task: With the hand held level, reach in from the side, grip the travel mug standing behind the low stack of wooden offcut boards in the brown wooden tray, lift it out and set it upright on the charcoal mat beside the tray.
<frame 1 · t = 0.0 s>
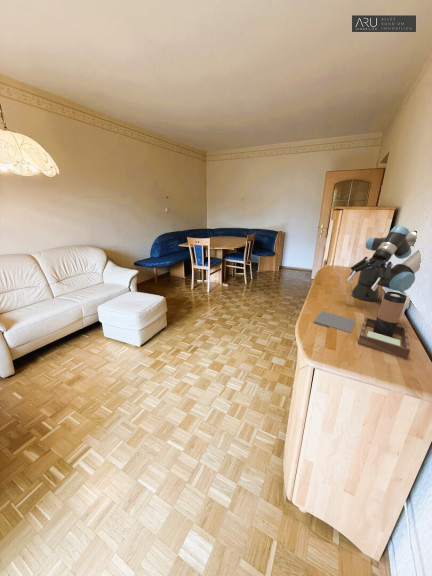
hand: (360, 285, 121), 15 cm above the table, tool tilted 35°, fingers open, 13 cm apart
brown wooden tray: (381, 340, 98), on the table
middle offcut: (381, 345, 93), point 1 cm above the table, touching bottom offcut
top offcut: (382, 341, 93), point 2 cm above the table
bottom offcut: (380, 347, 94), on the table, touching middle offcut
cup: (388, 321, 116), on the table
travel mug: (381, 336, 101), on the table
charcoal mat: (334, 322, 112), on the table
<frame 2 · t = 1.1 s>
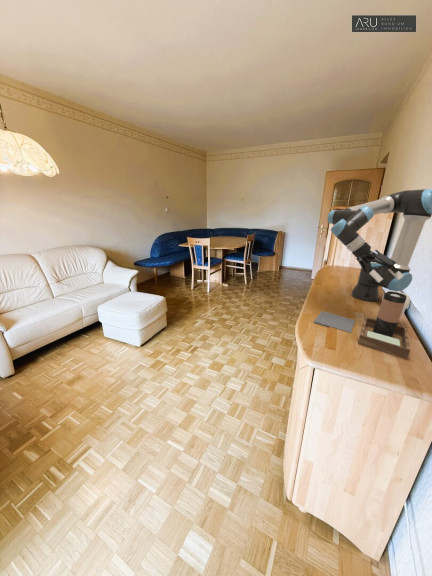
hand: (390, 279, 107), 22 cm above the table, tool tilted 50°, fingers open, 13 cm apart
nothing on the table moved.
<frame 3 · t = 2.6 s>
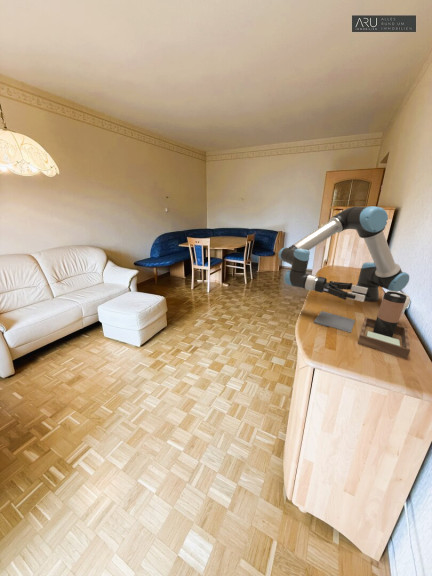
hand: (365, 294, 101), 17 cm above the table, tool horizontal, fingers open, 13 cm apart
nothing on the table moved.
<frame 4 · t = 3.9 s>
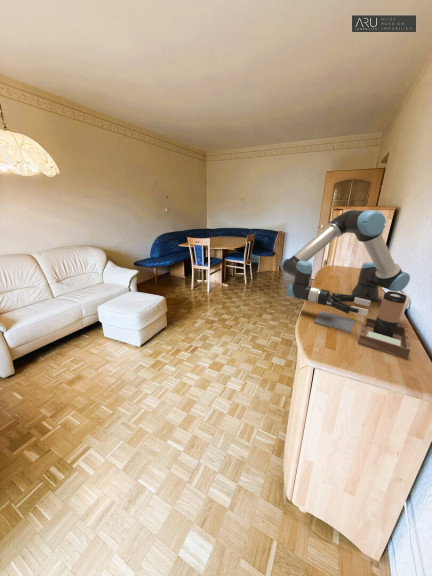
hand: (368, 308, 102), 11 cm above the table, tool horizontal, fingers open, 13 cm apart
middle offcut: (381, 344, 93), point 1 cm above the table, touching bottom offcut, top offcut
top offcut: (382, 342, 93), point 2 cm above the table, touching middle offcut
everything else where it was.
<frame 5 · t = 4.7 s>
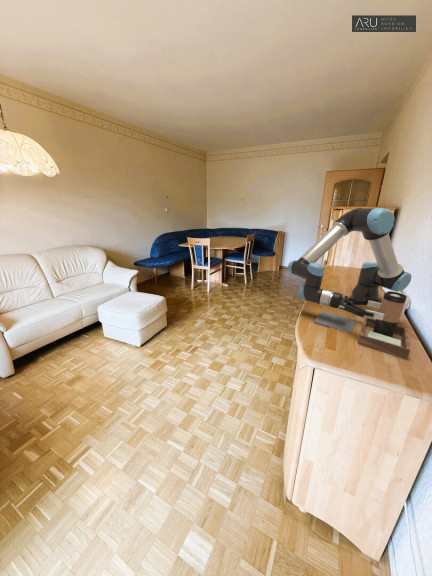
hand: (384, 311, 98), 11 cm above the table, tool horizontal, fingers open, 13 cm apart
nothing on the table moved.
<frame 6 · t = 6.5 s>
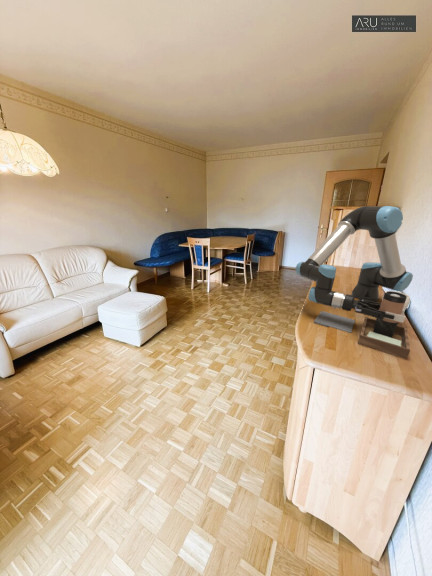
hand: (403, 316, 95), 12 cm above the table, tool horizontal, fingers closed on travel mug, 7 cm apart
travel mug: (381, 336, 101), on the table, touching gripper
everything else where it was.
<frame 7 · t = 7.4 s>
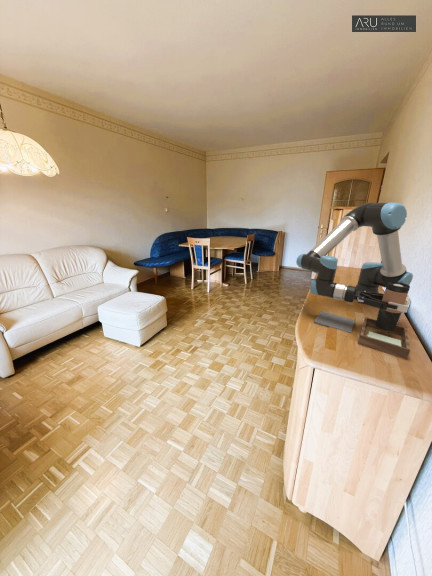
hand: (407, 306, 93), 16 cm above the table, tool horizontal, fingers closed on travel mug, 7 cm apart
middle offcut: (381, 345, 93), resting on bottom offcut
top offcut: (383, 342, 93), point 2 cm above the table
travel mug: (384, 327, 100), point 4 cm above the table, touching gripper
everything else where it was.
when the fingers open (14 cm above the table, at t = 11.7 s): travel mug drops 1 cm, resting on charcoal mat.
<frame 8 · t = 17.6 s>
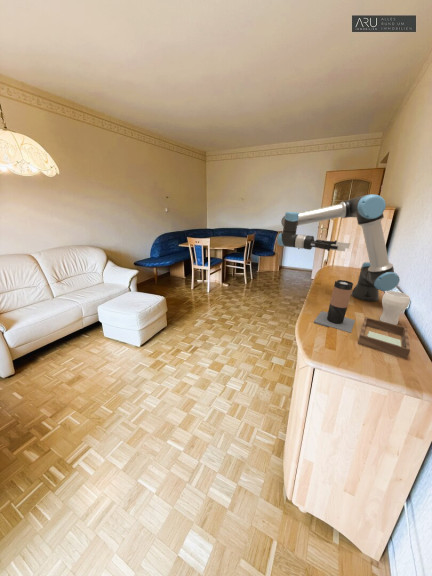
hand: (347, 247, 115), 35 cm above the table, tool horizontal, fingers open, 13 cm apart
middle offcut: (381, 344, 93), point 1 cm above the table, touching bottom offcut, top offcut
top offcut: (383, 342, 93), point 2 cm above the table, touching middle offcut
travel mug: (334, 320, 112), point 1 cm above the table, touching charcoal mat
everything else where it was.
at the end: travel mug inside the target area on the charcoal mat (0.1 cm from its centre), point 0.6 cm above the charcoal mat's base; travel mug tilted 0°; top offcut moved 0.9 cm from its start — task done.
